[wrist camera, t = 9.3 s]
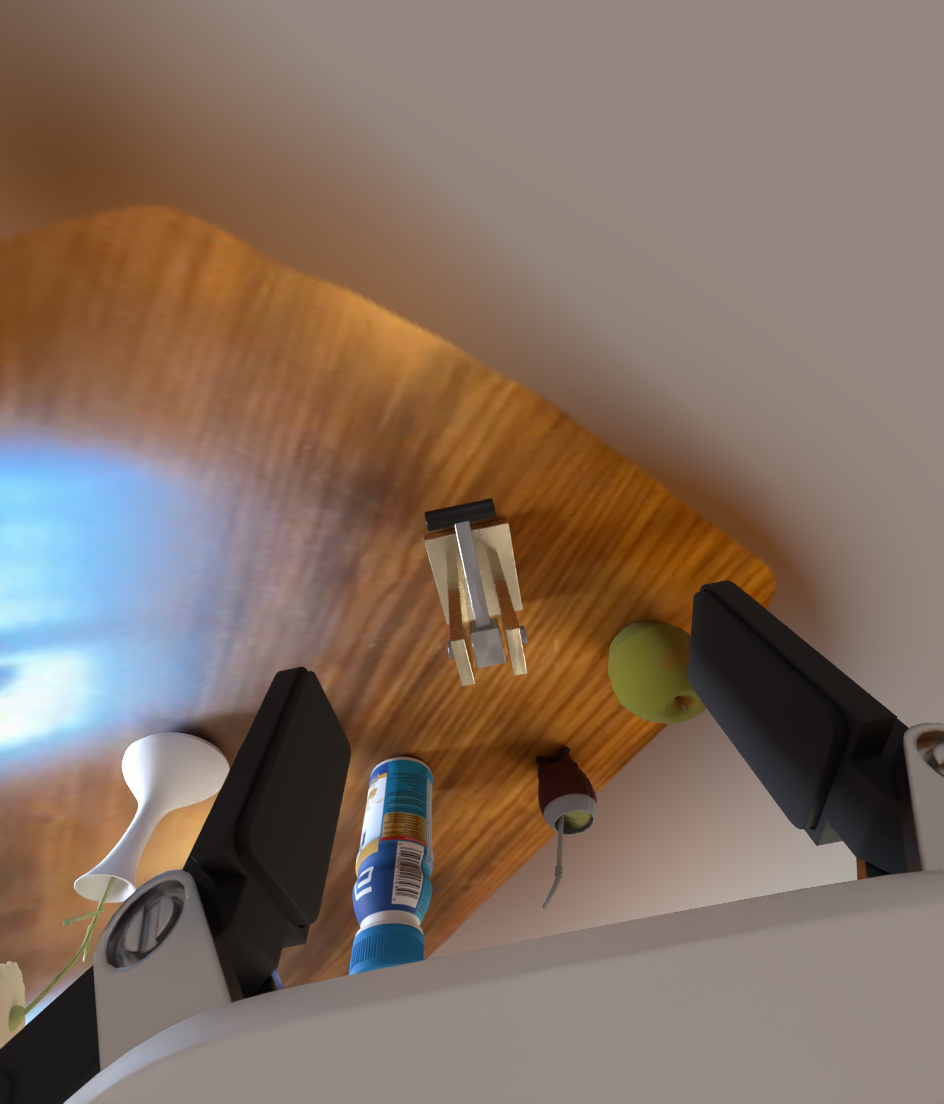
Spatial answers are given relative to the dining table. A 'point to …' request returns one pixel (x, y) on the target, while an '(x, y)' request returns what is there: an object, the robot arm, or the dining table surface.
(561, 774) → the mate gourd
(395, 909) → the beverage bottle
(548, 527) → the dining table surface
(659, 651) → the apple
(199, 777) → the flower in vase
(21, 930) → the dining table surface
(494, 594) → the bracket
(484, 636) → the lever
